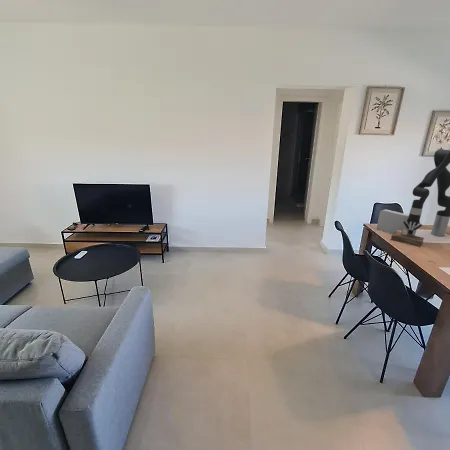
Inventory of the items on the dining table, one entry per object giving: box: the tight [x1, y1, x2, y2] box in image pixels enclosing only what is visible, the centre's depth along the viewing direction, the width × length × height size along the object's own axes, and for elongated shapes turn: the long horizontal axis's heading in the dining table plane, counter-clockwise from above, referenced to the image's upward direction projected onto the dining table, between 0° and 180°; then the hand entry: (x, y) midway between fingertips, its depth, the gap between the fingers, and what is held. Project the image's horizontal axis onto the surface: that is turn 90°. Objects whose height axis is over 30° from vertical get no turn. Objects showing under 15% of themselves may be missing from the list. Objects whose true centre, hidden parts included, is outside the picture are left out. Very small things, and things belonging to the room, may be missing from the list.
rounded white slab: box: [376, 209, 419, 236], centre depth 235 cm, size 29×8×18 cm, turn 36°
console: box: [390, 231, 425, 248], centre depth 220 cm, size 12×20×4 cm, turn 49°
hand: (409, 234), depth 221 cm, fingers closed
